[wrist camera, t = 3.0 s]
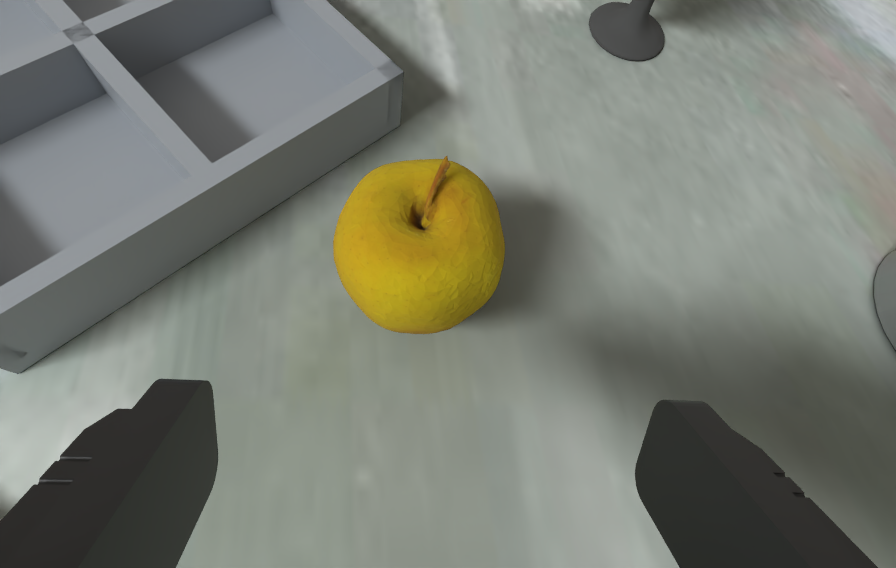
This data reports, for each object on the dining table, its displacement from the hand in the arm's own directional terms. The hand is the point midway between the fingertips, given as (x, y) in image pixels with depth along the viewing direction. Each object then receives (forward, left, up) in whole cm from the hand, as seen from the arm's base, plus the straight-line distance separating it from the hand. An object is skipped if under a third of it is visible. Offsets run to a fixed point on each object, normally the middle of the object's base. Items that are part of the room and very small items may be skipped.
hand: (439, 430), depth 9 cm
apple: (-5, -5, -12) cm, 14 cm away
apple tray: (-1, -22, -11) cm, 25 cm away
